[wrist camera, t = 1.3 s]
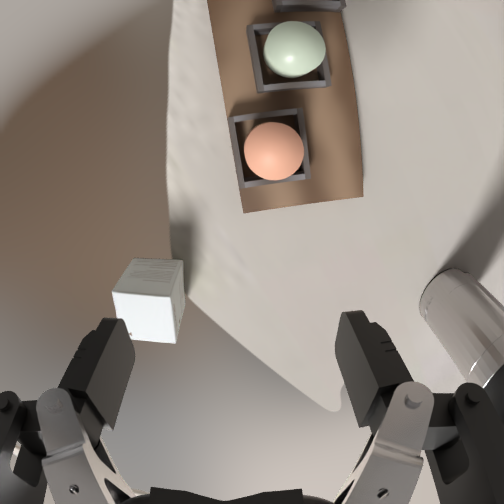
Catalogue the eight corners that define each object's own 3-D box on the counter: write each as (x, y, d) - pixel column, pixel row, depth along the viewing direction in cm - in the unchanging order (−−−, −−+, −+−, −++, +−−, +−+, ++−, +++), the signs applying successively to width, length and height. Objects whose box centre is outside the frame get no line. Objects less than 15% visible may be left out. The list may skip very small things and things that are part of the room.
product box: (186, 303, 34) (176, 345, 28) (139, 300, 34) (121, 339, 27) (184, 258, 32) (171, 296, 25) (132, 255, 31) (109, 291, 25)
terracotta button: (292, 119, 22) (300, 119, 20) (299, 169, 24) (306, 176, 21) (239, 126, 22) (239, 127, 20) (248, 176, 24) (249, 184, 22)
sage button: (311, 30, 19) (320, 20, 16) (319, 76, 21) (329, 71, 18) (259, 33, 19) (261, 23, 16) (267, 80, 21) (271, 75, 18)
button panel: (316, -47, 17) (325, -63, 13) (356, 191, 29) (371, 202, 25) (201, -39, 17) (196, -57, 13) (243, 207, 29) (243, 220, 26)
